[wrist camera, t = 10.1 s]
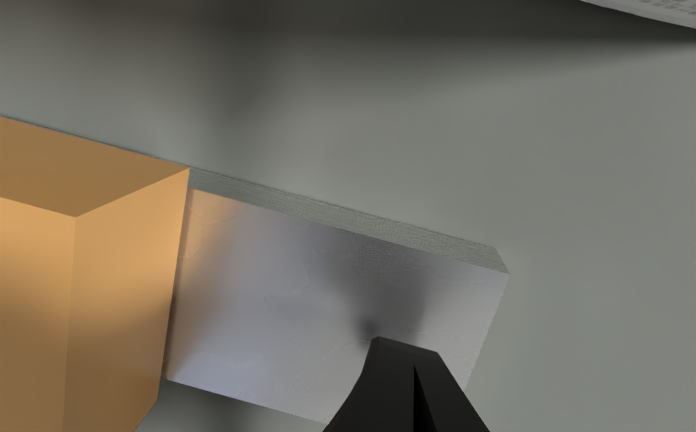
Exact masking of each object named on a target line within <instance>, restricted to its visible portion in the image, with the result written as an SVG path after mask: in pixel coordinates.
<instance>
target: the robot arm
mask: <svg viewBox="0 0 696 432" xmlns="http://www.w3.org/2000/svg"><path fill="white" fill-rule="evenodd" d="M323 432H490V431H489V430H488V428H487V427H486V425H485V424H484V423H483V421H482V420H481V418H480V417H479V415H478V414H477V412H476V411H475V409H474V408H473V406H472V405H471V403H470V402H469V400H468V399H467V397H466V396H465V394H464V392H463V391H462V389H461V388H460V386H459V385H458V383H457V382H456V380H455V378H454V377H453V375H452V374H451V372H450V370H449V369H448V367H447V366H446V364H445V363H444V361H443V360H442V358H441V357H440V355H439V354H438V352H436V351H432V350H428V349H425V348H421V347H417V346H414V345H410V344H407V343H403V342H399V341H396V340H392V339H388V338H385V337H381V336H377V337H375V338H373V339H372V340H371V343H370V346H369V350H368V353H367V356H366V359H365V363H364V366H363V369H362V372H361V375H360V376H359V378H358V380H357V382H356V383H355V385H354V387H353V389H352V391H351V392H350V394H349V395H348V397H347V399H346V400H345V401H344V403H343V404H342V406H341V407H340V409H339V410H338V411H337V413H336V414H335V416H334V417H333V418H332V420H331V421H330V423H329V424H328V425H327V427H326V428H325V429H324V430H323Z"/></svg>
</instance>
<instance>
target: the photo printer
mask: <svg viewBox="0 0 696 432" xmlns="http://www.w3.org/2000/svg"><path fill="white" fill-rule="evenodd" d="M581 1H585V2H588V3H592V4H595V5H598V6H602V7H607V8H612V9H616V10H619V11H623V12H627V13H632V14H634V15H638V16H642V17H646V18H650V19H655V20H659V21H663V22H668V23H673V24H677V25H682V26H686V27H691V28H696V0H581Z"/></svg>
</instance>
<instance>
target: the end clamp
mask: <svg viewBox="0 0 696 432" xmlns="http://www.w3.org/2000/svg"><path fill="white" fill-rule="evenodd" d="M189 170H190V167H186V166H182V165H178V164H175V163H171V162H167V161H163V160H160V159H156V158H152V157H149V156H145V155H141V154H137V153H134V152H130V151H126V150H123V149H119V148H115V147H111V146H108V145H104V144H100V143H96V142H93V141H89V140H85V139H82V138H78V137H74V136H70V135H67V134H63V133H59V132H56V131H52V130H48V129H44V128H41V127H37V126H33V125H29V124H26V123H22V122H18V121H15V120H11V119H7V118H3V117H0V432H134V431H135V430H136V428H137V427H138V425H139V424H140V423H141V421H142V420H143V419H144V417H145V416H146V415H147V413H148V412H149V411H150V409H151V408H152V407H153V405H154V404H155V402H156V401H157V398H158V391H159V384H160V377H161V369H162V362H163V355H164V348H165V341H166V334H167V327H168V320H169V313H170V305H171V298H172V291H173V284H174V277H175V270H176V263H177V256H178V249H179V241H180V234H181V227H182V220H183V213H184V206H185V199H186V192H187V184H188V177H189Z"/></svg>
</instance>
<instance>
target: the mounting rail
mask: <svg viewBox="0 0 696 432" xmlns="http://www.w3.org/2000/svg"><path fill="white" fill-rule="evenodd" d="M0 117H3V116H0ZM3 118H7V117H3ZM7 119H11V118H7ZM11 120H14V119H11ZM15 121H18V120H15ZM18 122H22V121H18ZM22 123H26V122H22ZM26 124H29V123H26ZM29 125H33V124H29ZM33 126H37V125H33ZM37 127H40V126H37ZM41 128H44V127H41ZM44 129H48V128H44ZM48 130H52V129H48ZM52 131H55V130H52ZM56 132H59V131H56ZM59 133H63V132H59ZM63 134H67V133H63ZM67 135H70V134H67ZM70 136H74V135H70ZM74 137H78V136H74ZM78 138H81V137H78ZM82 139H85V138H82ZM85 140H89V139H85ZM89 141H93V140H89ZM93 142H96V141H93ZM96 143H100V142H96ZM100 144H104V143H100ZM104 145H107V144H104ZM108 146H111V145H108ZM111 147H115V146H111ZM115 148H119V147H115ZM119 149H122V148H119ZM123 150H126V149H123ZM126 151H130V150H126ZM130 152H134V151H130ZM134 153H137V152H134ZM137 154H141V153H137ZM141 155H145V154H141ZM145 156H148V155H145ZM149 157H152V156H149ZM152 158H156V157H152ZM156 159H160V158H156ZM160 160H163V159H160ZM163 161H167V160H163ZM167 162H171V161H167ZM171 163H174V162H171ZM175 164H178V163H175ZM178 165H182V164H178ZM182 166H186V165H182ZM186 167H189V166H186ZM509 277H510V273H509V271H508V269H507V268H506V266H505V264H504V262H503V261H502V259H501V257H500V256H499V254H498V252H497V250H496V249H495V248H491V247H487V246H483V245H480V244H476V243H472V242H469V241H465V240H461V239H457V238H454V237H450V236H446V235H442V234H439V233H435V232H431V231H428V230H424V229H420V228H416V227H413V226H409V225H405V224H402V223H398V222H394V221H390V220H387V219H383V218H379V217H375V216H372V215H368V214H364V213H361V212H357V211H353V210H349V209H346V208H342V207H338V206H335V205H331V204H327V203H323V202H320V201H316V200H312V199H308V198H305V197H301V196H297V195H294V194H290V193H286V192H282V191H279V190H275V189H271V188H268V187H264V186H260V185H256V184H253V183H249V182H245V181H241V180H238V179H234V178H230V177H227V176H223V175H219V174H215V173H212V172H208V171H204V170H201V169H197V168H193V167H190V170H189V177H188V184H187V192H186V199H185V206H184V213H183V220H182V227H181V234H180V241H179V249H178V256H177V263H176V270H175V277H174V284H173V291H172V298H171V305H170V313H169V320H168V327H167V334H166V341H165V348H164V355H163V362H162V369H161V377H160V378H163V379H167V380H170V381H174V382H178V383H181V384H185V385H188V386H192V387H195V388H199V389H203V390H206V391H210V392H213V393H217V394H221V395H224V396H228V397H231V398H235V399H238V400H242V401H246V402H249V403H253V404H256V405H260V406H263V407H267V408H271V409H274V410H278V411H281V412H285V413H288V414H292V415H296V416H299V417H303V418H306V419H310V420H313V421H317V422H321V423H324V424H329V423H330V421H331V420H332V418H333V417H334V416H335V414H336V413H337V411H338V410H339V409H340V407H341V406H342V404H343V403H344V401H345V400H346V399H347V397H348V395H349V394H350V392H351V391H352V389H353V387H354V385H355V383H356V382H357V380H358V378H359V376H360V375H361V372H362V369H363V366H364V363H365V359H366V356H367V353H368V350H369V346H370V343H371V340H372V339H373V338H375V337H377V336H381V337H385V338H388V339H392V340H396V341H399V342H403V343H407V344H410V345H414V346H417V347H421V348H425V349H428V350H432V351H436V352H438V354H439V355H440V357H441V358H442V360H443V361H444V363H445V364H446V366H447V367H448V369H449V370H450V372H451V374H452V375H453V377H454V378H455V380H456V382H457V383H458V385H459V386H460V388H461V389H462V391H463V392H464V390H465V388H466V385H467V383H468V380H469V378H470V375H471V373H472V370H473V367H474V365H475V362H476V360H477V357H478V355H479V352H480V350H481V347H482V345H483V342H484V340H485V337H486V335H487V332H488V330H489V327H490V325H491V322H492V320H493V317H494V315H495V312H496V310H497V307H498V305H499V302H500V300H501V297H502V295H503V292H504V289H505V287H506V284H507V282H508V279H509Z"/></svg>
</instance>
